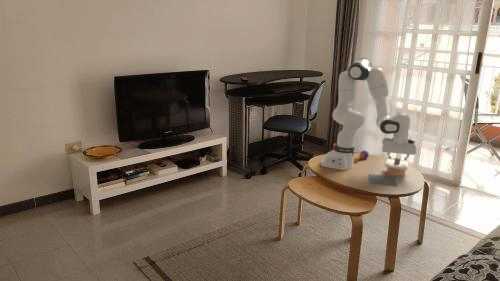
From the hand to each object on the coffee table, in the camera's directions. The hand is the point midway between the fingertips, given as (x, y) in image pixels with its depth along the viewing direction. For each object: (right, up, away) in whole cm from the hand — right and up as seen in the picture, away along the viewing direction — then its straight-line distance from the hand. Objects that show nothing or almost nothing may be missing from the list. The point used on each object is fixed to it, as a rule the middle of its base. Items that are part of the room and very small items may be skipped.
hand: (397, 159), depth 245 cm
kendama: (-17, -2, +26) cm, 31 cm away
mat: (-13, -12, -9) cm, 20 cm away
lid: (0, -4, +1) cm, 4 cm away
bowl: (0, -9, +3) cm, 10 cm away
